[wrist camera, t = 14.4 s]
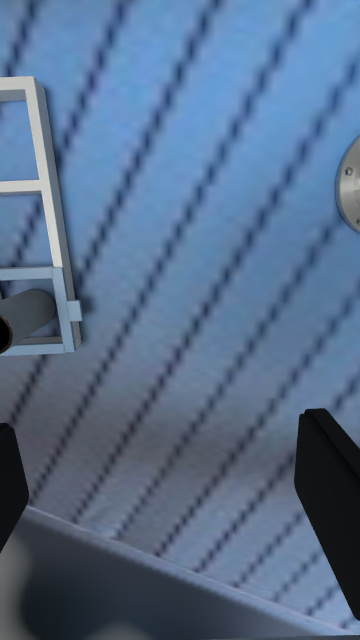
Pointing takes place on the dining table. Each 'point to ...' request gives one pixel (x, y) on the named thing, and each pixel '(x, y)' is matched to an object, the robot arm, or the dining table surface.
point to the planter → (23, 316)
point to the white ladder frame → (50, 192)
